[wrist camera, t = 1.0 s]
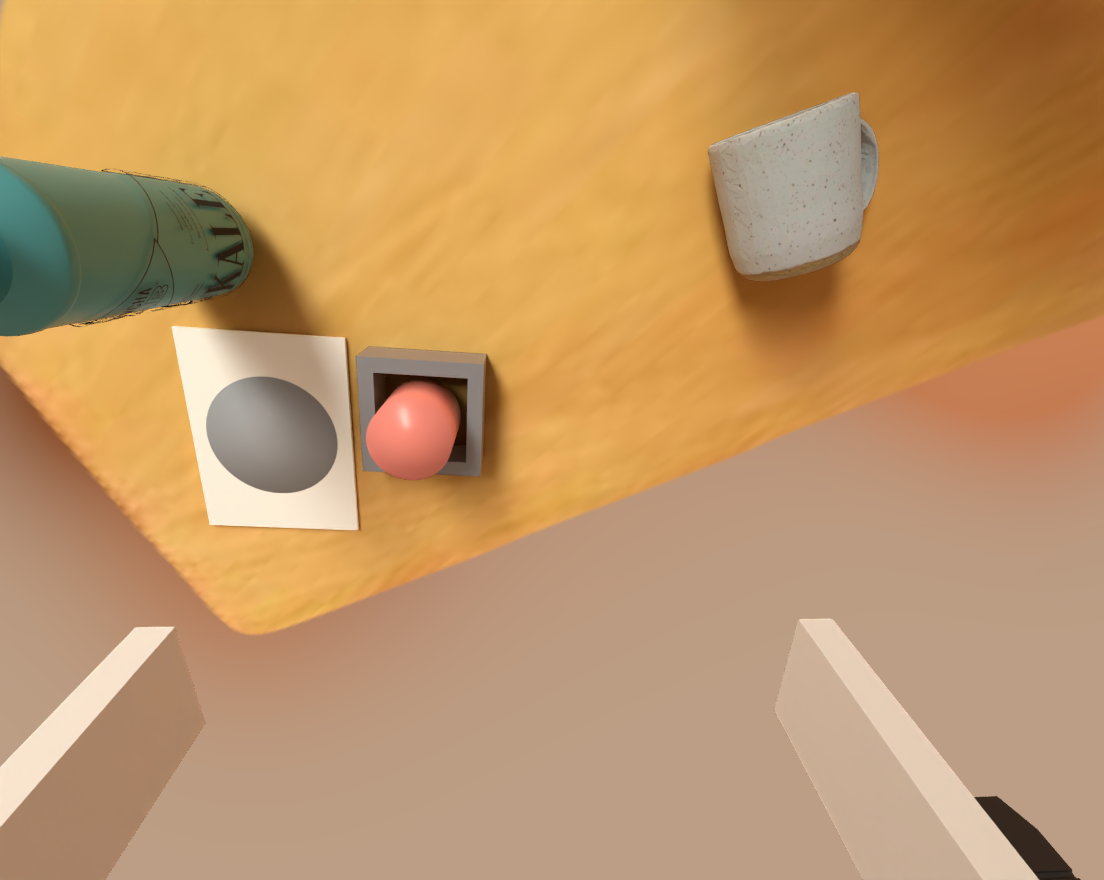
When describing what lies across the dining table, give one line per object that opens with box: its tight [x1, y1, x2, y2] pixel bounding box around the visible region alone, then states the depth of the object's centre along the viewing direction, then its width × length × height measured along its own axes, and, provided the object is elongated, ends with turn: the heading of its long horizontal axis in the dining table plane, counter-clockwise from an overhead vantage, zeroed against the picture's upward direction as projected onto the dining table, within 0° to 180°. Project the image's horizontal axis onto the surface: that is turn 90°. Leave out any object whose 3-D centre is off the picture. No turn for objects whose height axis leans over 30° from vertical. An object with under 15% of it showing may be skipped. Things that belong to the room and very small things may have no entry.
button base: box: [356, 346, 487, 476], centre depth 35 cm, size 8×8×3 cm
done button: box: [366, 379, 461, 480], centre depth 33 cm, size 5×5×5 cm
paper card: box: [172, 326, 359, 530], centre depth 37 cm, size 15×11×1 cm
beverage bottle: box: [0, 156, 253, 336], centre depth 23 cm, size 6×7×20 cm
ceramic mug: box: [708, 92, 879, 281], centre depth 29 cm, size 11×8×8 cm
